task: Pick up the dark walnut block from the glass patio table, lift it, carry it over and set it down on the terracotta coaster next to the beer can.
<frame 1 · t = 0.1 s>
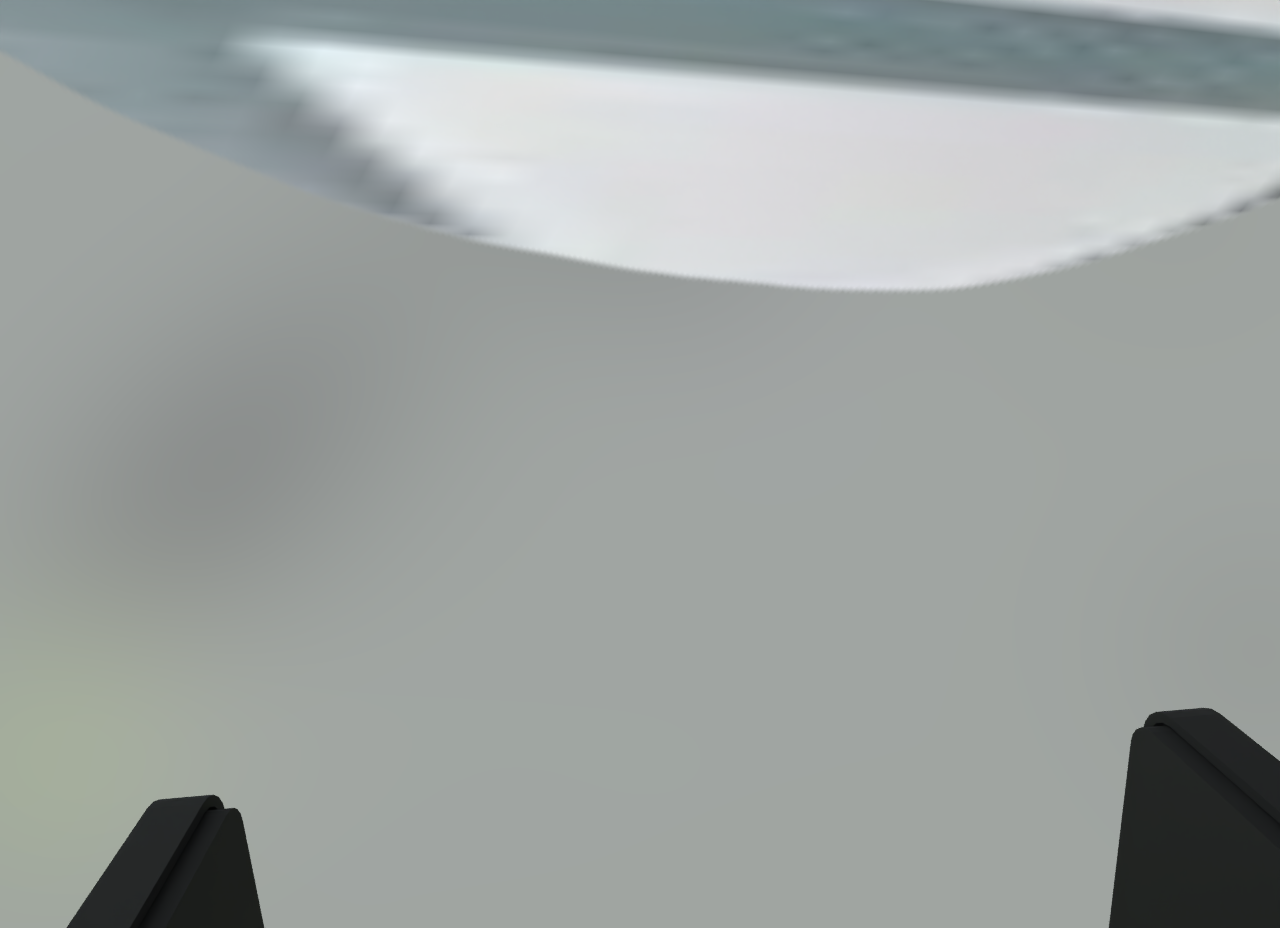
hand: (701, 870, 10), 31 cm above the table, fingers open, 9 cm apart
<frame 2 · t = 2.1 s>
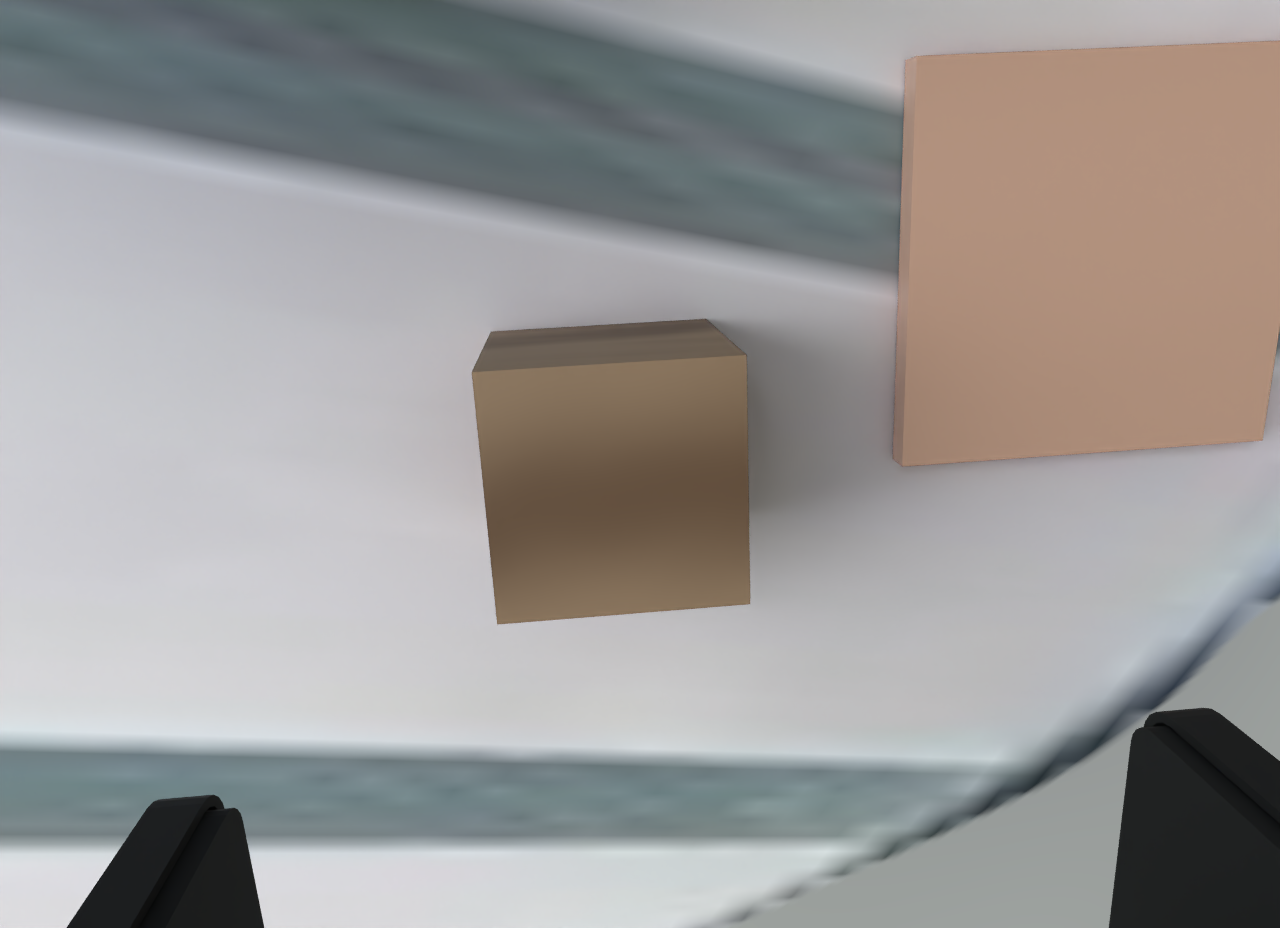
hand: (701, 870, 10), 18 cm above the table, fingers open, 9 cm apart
coaster: (1087, 260, 26), on the table
walnut block: (605, 428, 27), on the table
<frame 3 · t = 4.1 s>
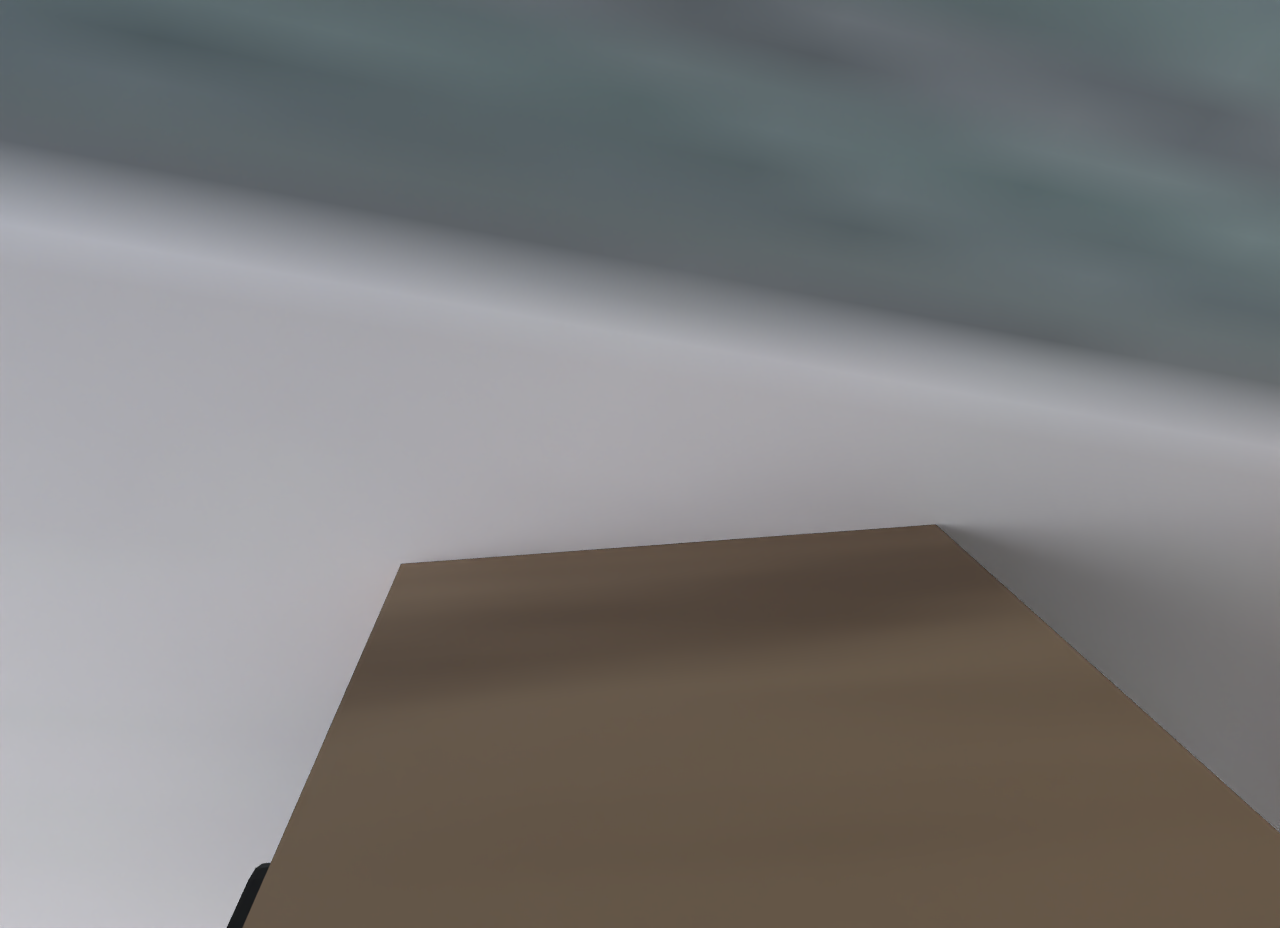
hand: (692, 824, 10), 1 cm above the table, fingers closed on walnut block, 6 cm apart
walnut block: (682, 775, 11), on the table, touching gripper
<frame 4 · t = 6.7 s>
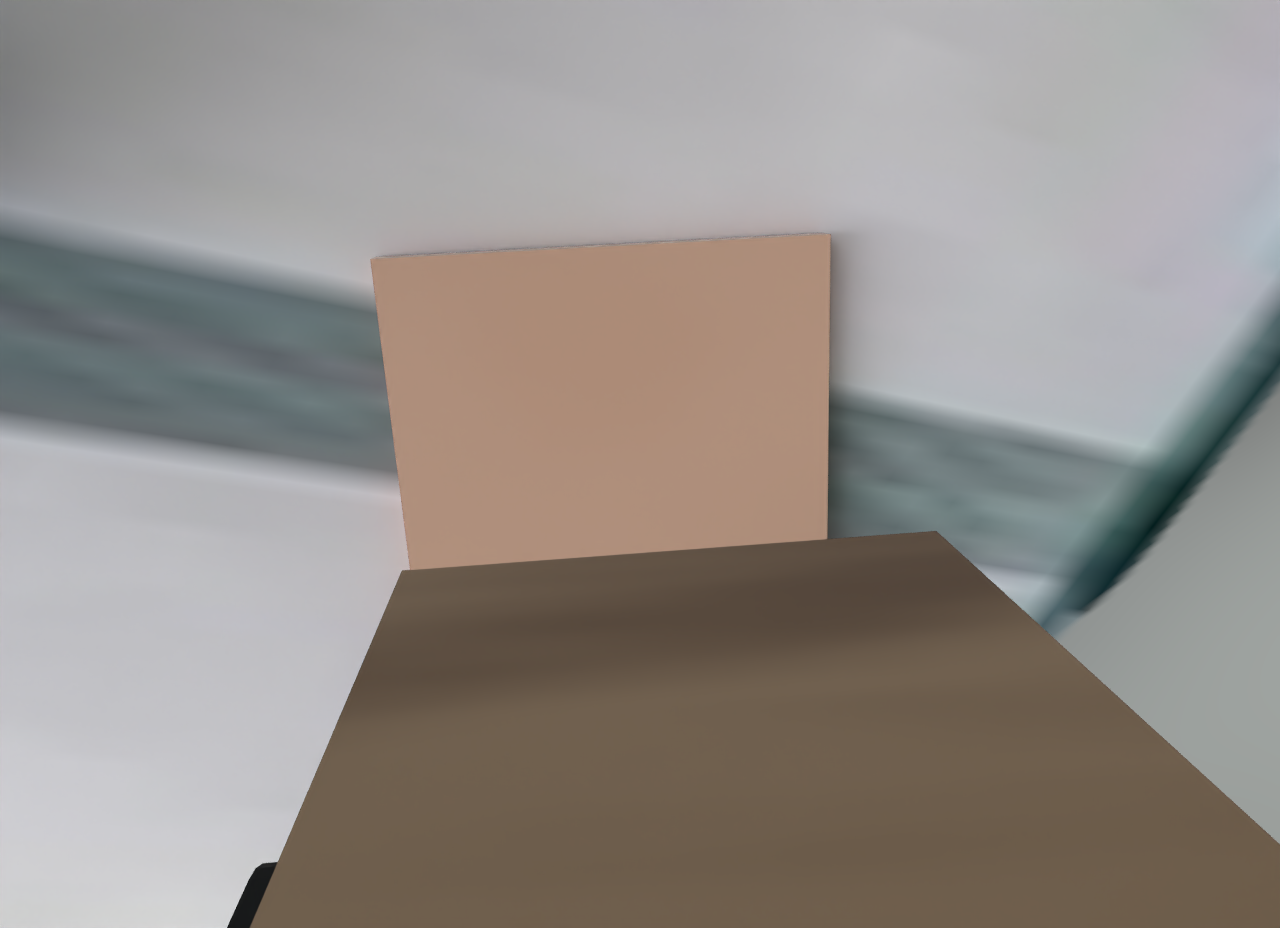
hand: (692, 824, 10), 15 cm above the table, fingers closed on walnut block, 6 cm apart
coaster: (615, 458, 24), on the table
walnut block: (683, 781, 11), point 14 cm above the table, touching gripper
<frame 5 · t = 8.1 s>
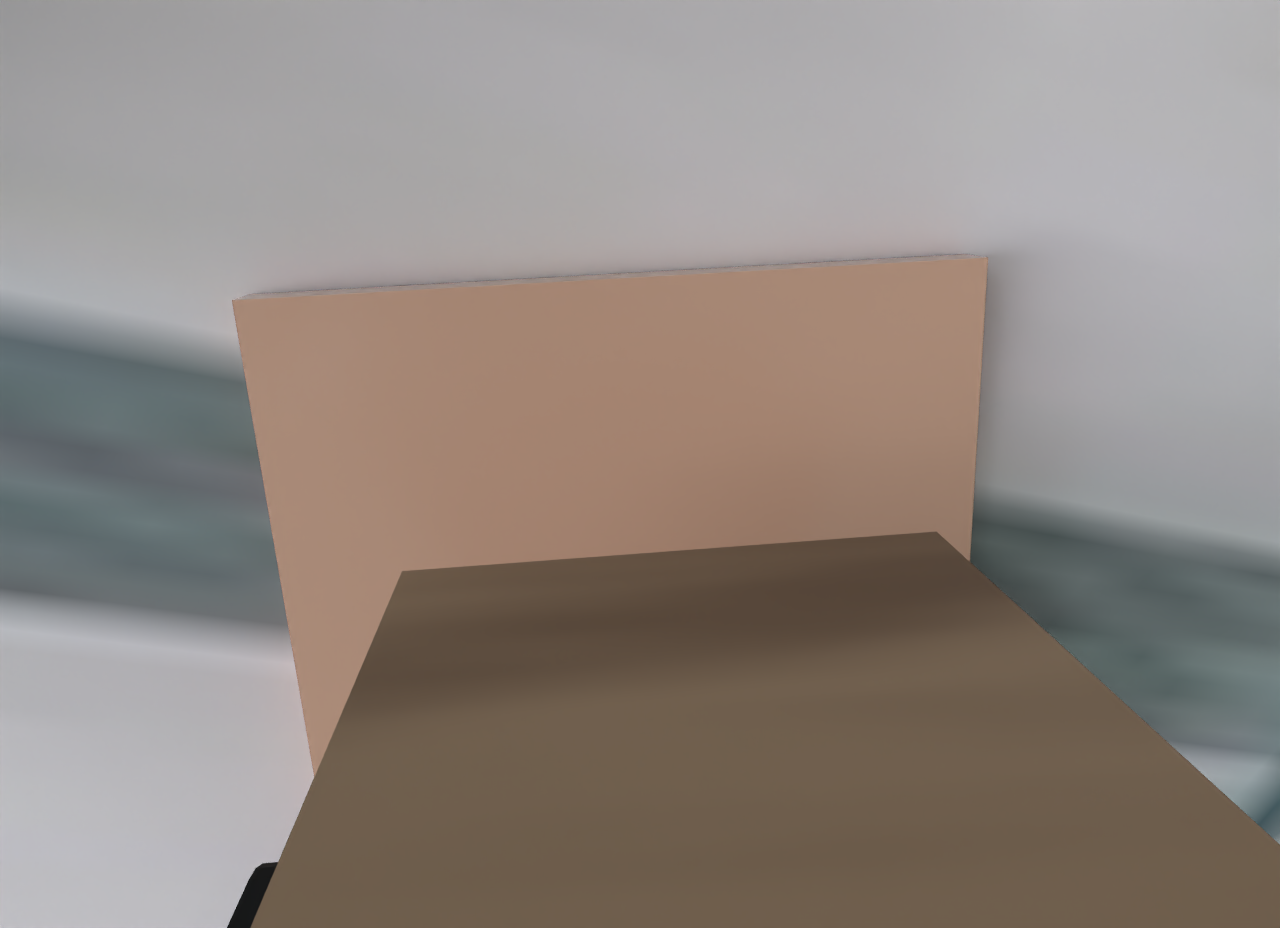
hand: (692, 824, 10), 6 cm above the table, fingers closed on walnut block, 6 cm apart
coaster: (634, 601, 16), on the table
walnut block: (683, 782, 11), point 5 cm above the table, touching gripper
when the fingers open (3 cm above the table, at t = 9.3 s): walnut block stays where it is, resting on coaster.
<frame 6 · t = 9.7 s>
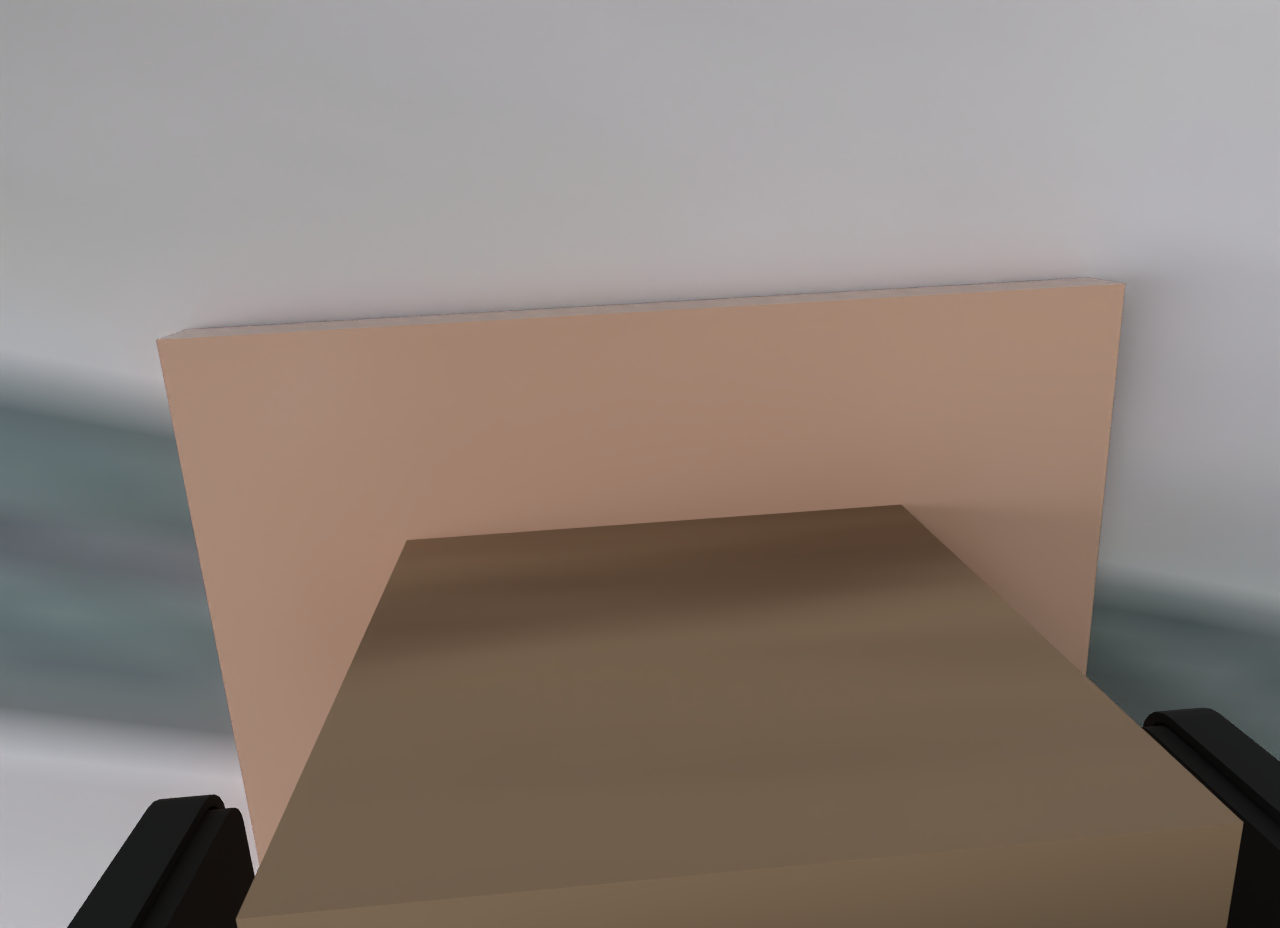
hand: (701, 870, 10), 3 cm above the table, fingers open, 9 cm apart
coaster: (667, 703, 13), on the table
walnut block: (667, 738, 12), point 1 cm above the table, touching coaster
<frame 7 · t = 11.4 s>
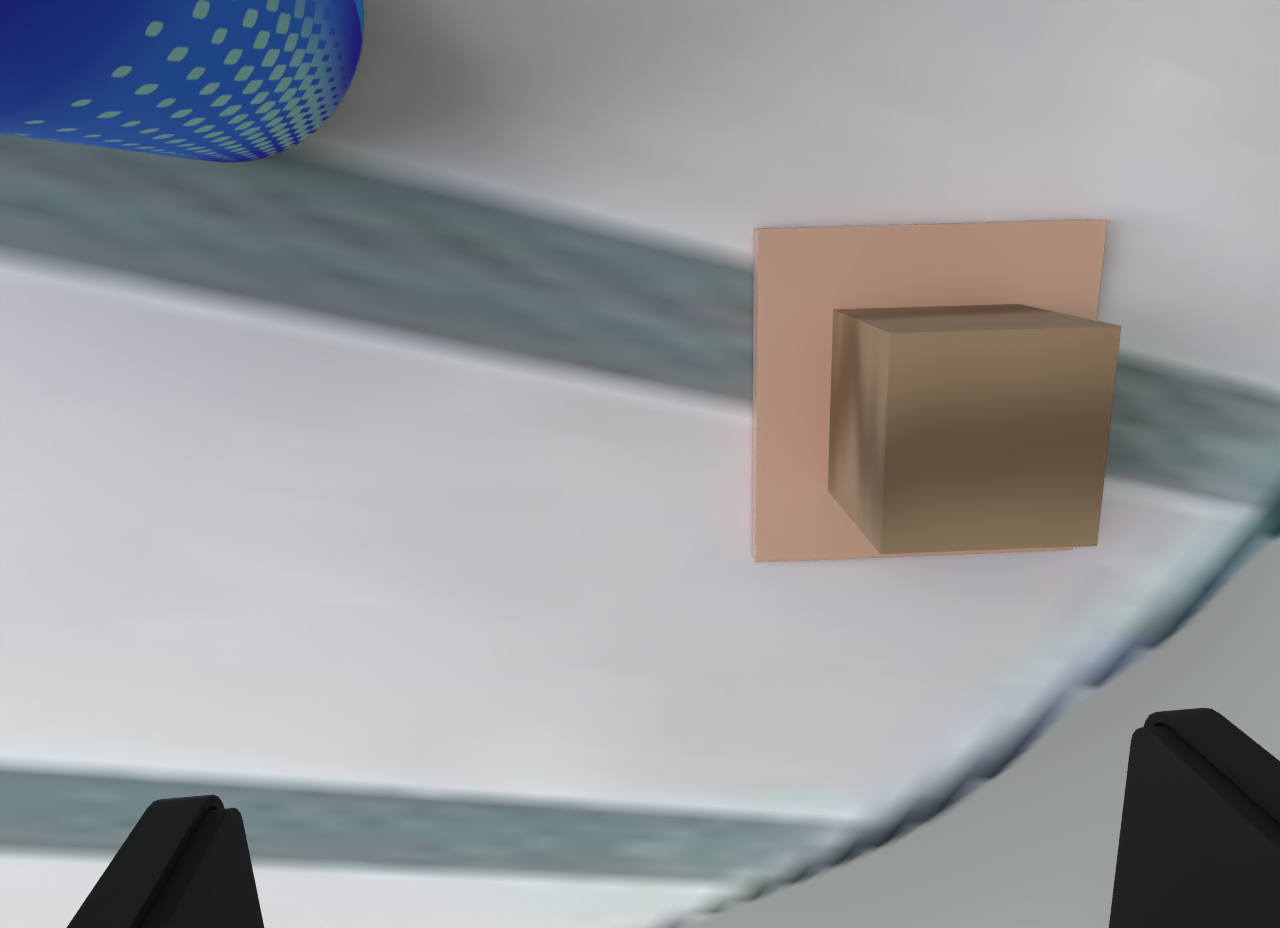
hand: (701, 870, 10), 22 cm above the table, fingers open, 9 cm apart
beer can: (233, 15, 27), on the table
coaster: (916, 393, 31), on the table
walnut block: (921, 399, 30), point 1 cm above the table, touching coaster
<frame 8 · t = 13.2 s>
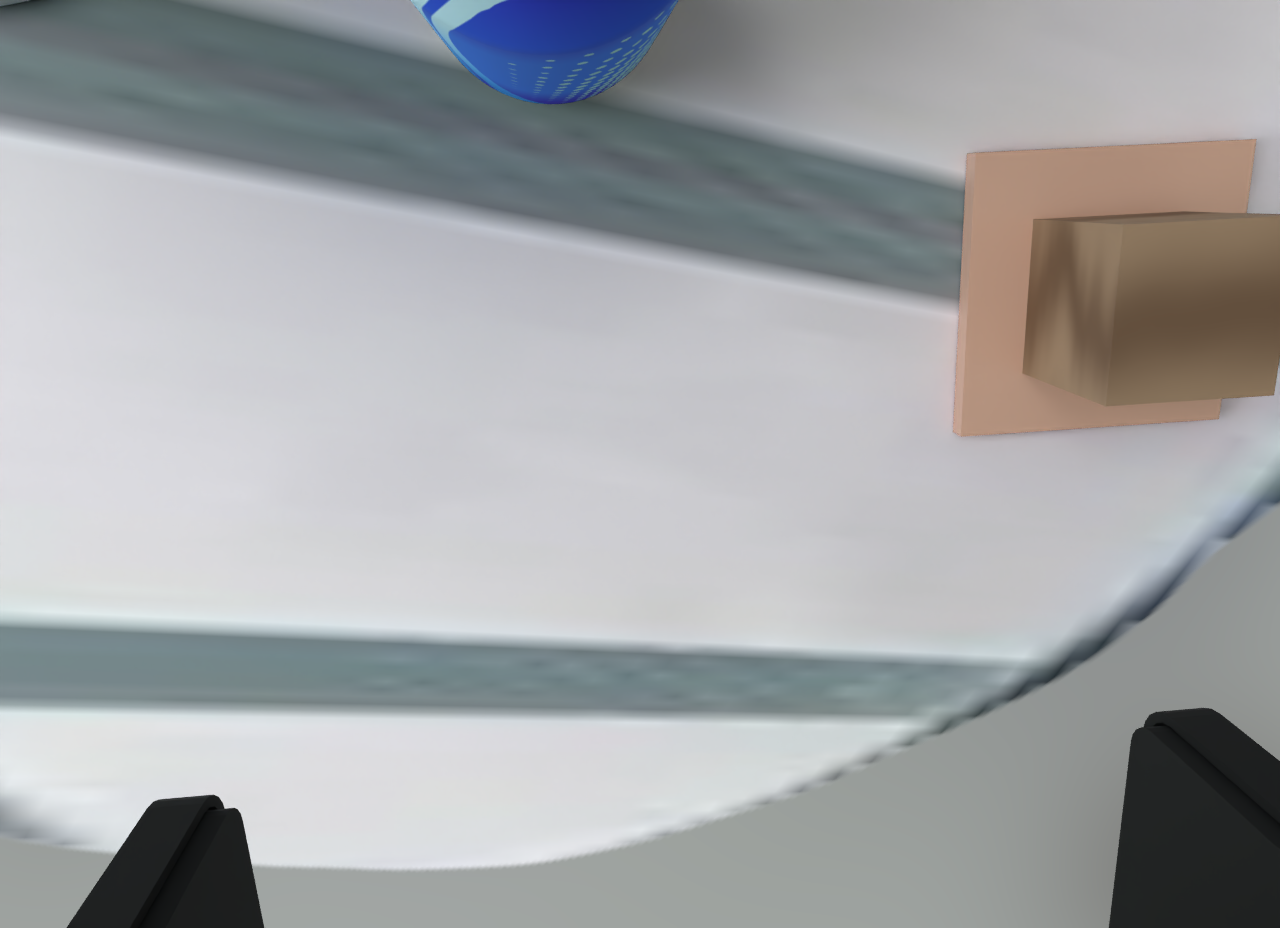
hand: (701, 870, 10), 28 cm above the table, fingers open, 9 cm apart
coaster: (1092, 290, 37), on the table
walnut block: (1101, 293, 37), point 1 cm above the table, touching coaster
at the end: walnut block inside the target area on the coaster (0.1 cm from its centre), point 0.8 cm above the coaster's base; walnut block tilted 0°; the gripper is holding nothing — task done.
